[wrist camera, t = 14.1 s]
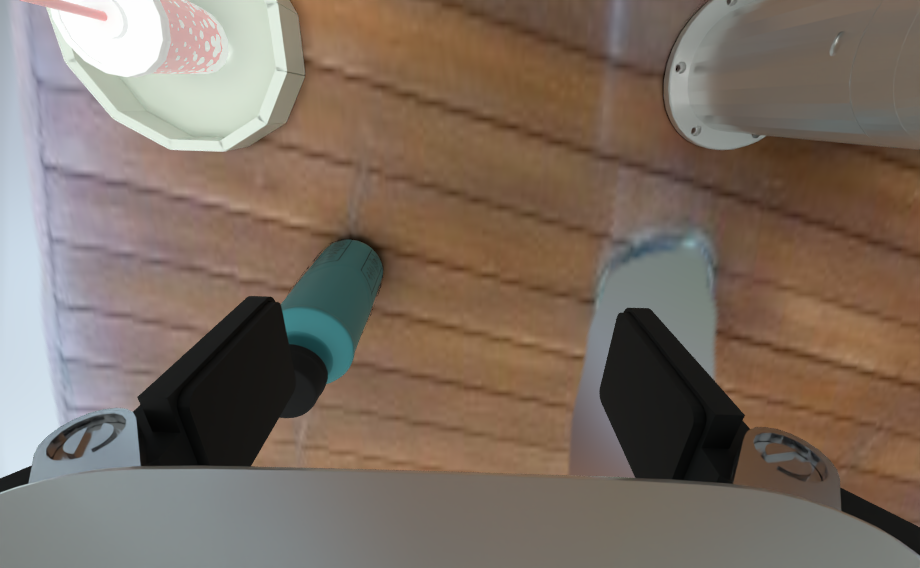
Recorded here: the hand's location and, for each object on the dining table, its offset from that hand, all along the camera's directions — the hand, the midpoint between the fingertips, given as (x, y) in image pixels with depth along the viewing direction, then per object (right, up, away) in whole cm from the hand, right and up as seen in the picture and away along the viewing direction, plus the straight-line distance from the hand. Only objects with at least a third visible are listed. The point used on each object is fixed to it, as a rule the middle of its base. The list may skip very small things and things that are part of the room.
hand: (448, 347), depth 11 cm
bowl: (-21, +21, +20) cm, 36 cm away
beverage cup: (-20, +21, +20) cm, 35 cm away
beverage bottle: (-10, +4, +29) cm, 31 cm away
